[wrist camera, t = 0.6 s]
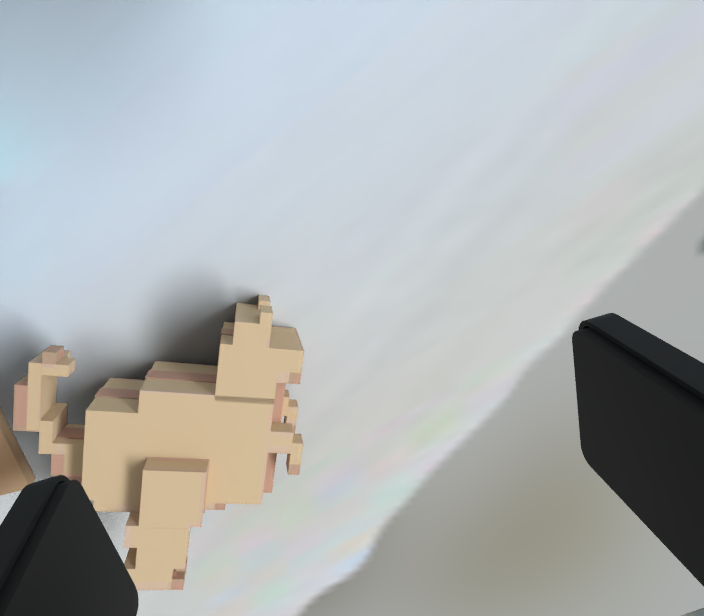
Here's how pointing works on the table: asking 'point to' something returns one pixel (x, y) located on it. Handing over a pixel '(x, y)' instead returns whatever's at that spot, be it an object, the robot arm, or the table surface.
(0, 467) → the stand
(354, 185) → the table surface
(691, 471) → the robot arm
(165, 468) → the toy
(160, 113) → the table surface
